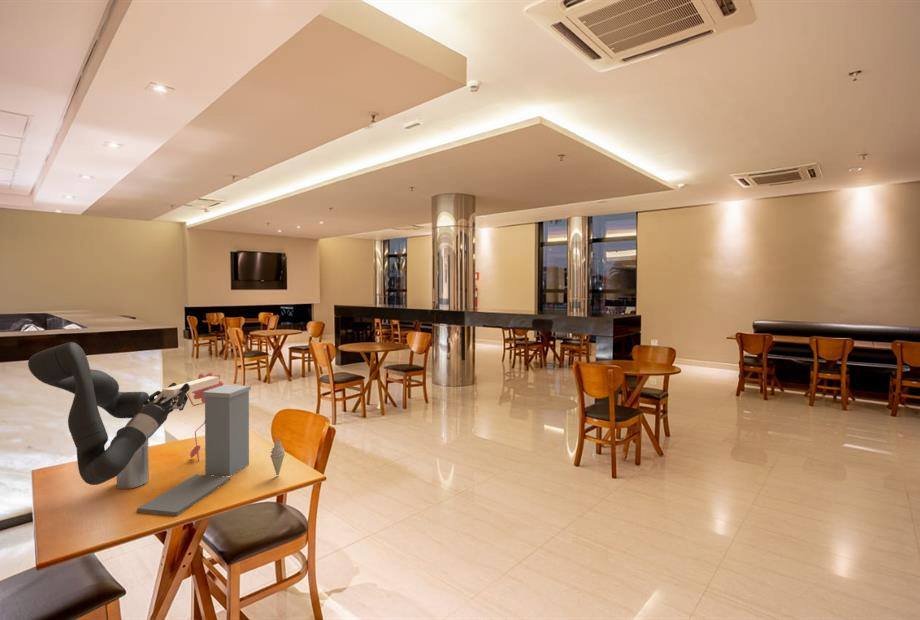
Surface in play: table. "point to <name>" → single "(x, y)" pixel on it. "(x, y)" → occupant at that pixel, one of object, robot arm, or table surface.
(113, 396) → the robot arm
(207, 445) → the pedestal
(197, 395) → the figurine
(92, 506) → the table surface
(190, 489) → the mat
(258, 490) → the table surface
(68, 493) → the table surface
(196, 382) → the slat
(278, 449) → the ice cream cone
